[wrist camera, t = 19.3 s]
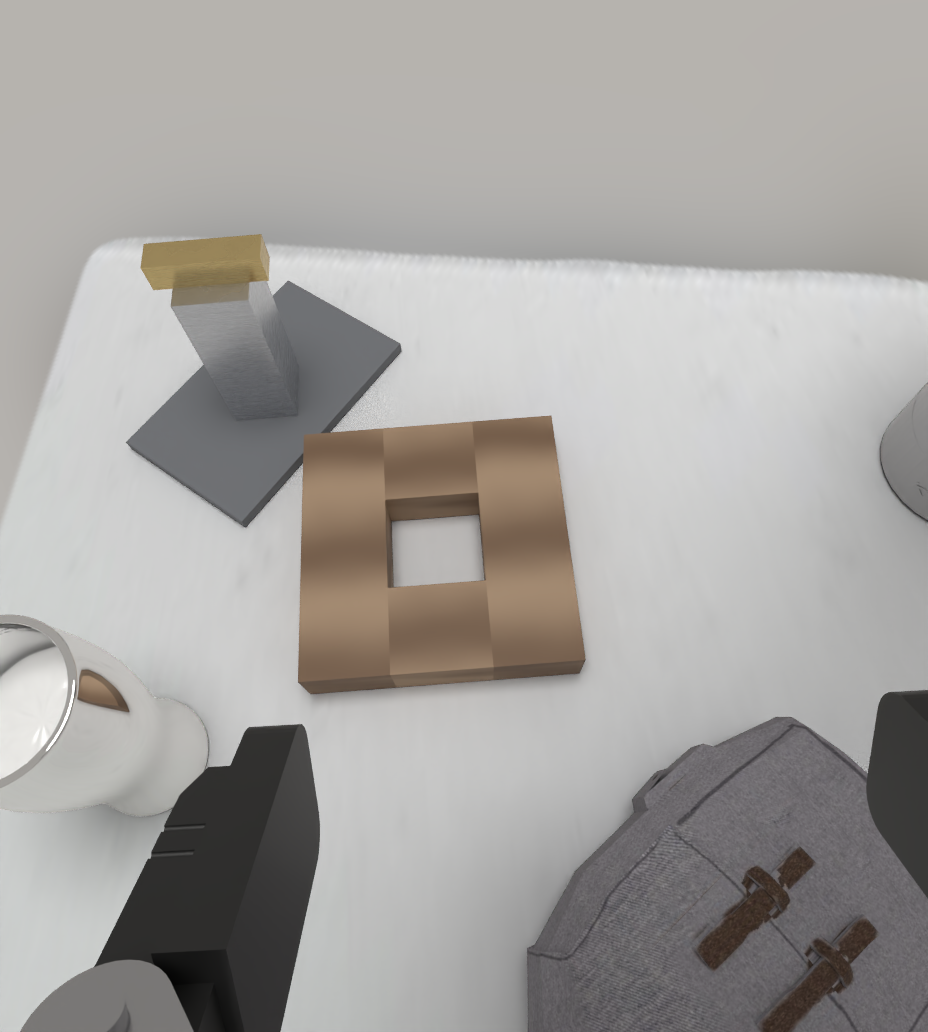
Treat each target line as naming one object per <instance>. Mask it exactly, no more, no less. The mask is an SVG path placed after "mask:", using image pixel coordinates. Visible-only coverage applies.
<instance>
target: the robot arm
mask: <svg viewBox="0 0 928 1032" xmlns="http://www.w3.org/2000/svg"><path fill="white" fill-rule="evenodd" d="M881 463H882V466H883V470H884V473H885V476H886V478H887V480H888V481H889V483H890V485H891V487H892V489H893V490H894V491H895V493H896V494H897V495H898V496H899V498H900V499H901V500H902V501H903V502H904V503H905V504H906V505H907V506H908V507H910V508H911V509H912V510H913V511H914V512H915V513H917V514H918V515H920V516H922V517H923V518H925V519H926V520H928V383H927V384H926V385H925V386H924V387H923V388H922V389H921V390H920V391H919V392H918V393H917V395H916V396H915V397H914V398H913V399H912V400H911V401H910V402H909V403H908V405H907V406H906V407H905V408H904V409H903V410H902V411H901V412H900V413H899V415H898V416H897V417H896V418H895V419H894V420H893V421H892V422H891V423H890V425H889V426H888V428H887V430H886V432H885V433H884V435H883V439H882V444H881ZM866 793H867V801H868V806H869V810H870V813H871V816H872V819H873V821H874V823H875V825H876V827H877V829H878V831H879V832H880V834H881V835H882V837H883V838H884V839H885V841H886V842H887V843H888V845H889V846H890V848H891V849H892V850H893V852H894V853H895V854H896V856H897V857H898V858H899V860H900V861H901V863H902V864H903V865H904V867H905V868H906V869H907V871H908V872H909V874H910V875H911V876H912V878H913V879H914V880H915V882H916V883H917V885H918V886H919V887H920V889H921V890H922V891H923V893H924V894H925V896H926V897H927V898H928V690H921V691H904V692H888V693H886V694H885V695H884V696H883V697H882V698H881V700H880V702H879V706H878V711H877V717H876V724H875V730H874V737H873V743H872V750H871V756H870V763H869V769H868V776H867V783H866ZM319 842H320V821H319V811H318V804H317V798H316V791H315V784H314V778H313V771H312V765H311V758H310V751H309V745H308V738H307V734H306V730H305V728H304V726H303V725H302V724H298V725H281V726H263V727H249V728H247V730H246V731H245V733H244V735H243V737H242V740H241V742H240V744H239V747H238V749H237V751H236V754H235V756H234V758H233V761H232V763H231V766H222V767H208V768H207V769H206V770H205V771H204V772H203V773H202V774H201V775H200V776H199V777H198V778H196V779H195V780H194V781H193V782H192V783H191V784H190V785H189V786H188V787H187V788H186V789H185V790H184V791H183V792H182V793H181V794H180V795H179V797H178V799H177V801H176V803H175V805H174V807H173V809H172V811H171V813H170V815H169V817H168V819H167V821H166V823H165V829H164V832H161V834H160V836H159V838H158V840H157V842H156V844H155V846H154V848H153V850H152V852H151V853H152V855H151V859H148V860H147V862H146V864H145V866H144V868H143V870H142V872H141V874H140V876H139V878H138V880H137V882H136V884H135V886H134V888H133V890H132V892H131V894H130V896H129V898H128V900H127V902H126V904H125V906H124V908H123V910H122V912H121V915H120V917H119V919H118V921H117V923H116V925H115V927H114V929H113V931H112V933H111V935H110V937H109V939H108V941H107V943H106V945H105V947H104V949H103V951H102V953H101V955H100V957H99V959H98V961H97V963H96V965H95V966H94V967H93V968H91V969H89V970H87V971H85V972H83V973H81V974H78V975H77V976H75V977H74V978H72V979H70V980H69V981H67V982H66V983H64V984H63V985H62V986H60V987H59V988H58V989H56V990H55V991H54V992H52V993H51V994H50V995H49V996H48V997H47V998H46V999H45V1000H44V1001H43V1002H42V1003H41V1004H40V1005H39V1006H38V1007H37V1009H36V1010H35V1011H34V1012H33V1013H32V1014H31V1016H30V1017H29V1019H28V1020H27V1022H26V1023H25V1024H24V1026H23V1027H22V1029H21V1031H20V1032H280V1031H281V1026H282V1022H283V1017H284V1013H285V1008H286V1003H287V999H288V994H289V990H290V985H291V980H292V976H293V971H294V967H295V962H296V957H297V953H298V948H299V944H300V939H301V935H302V930H303V925H304V921H305V916H306V912H307V907H308V902H309V898H310V893H311V889H312V884H313V879H314V875H315V870H316V866H317V860H318V854H319Z"/></svg>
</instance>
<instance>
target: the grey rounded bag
mask: <svg viewBox="0 0 928 1032" xmlns="http://www.w3.org/2000/svg"><path fill="white" fill-rule="evenodd" d="M867 776H868V774H867V773H866V772H865V771H864V770H863V769H862V768H861V767H860V766H858V765H857V764H856V763H855V762H854V761H853V760H852V759H851V758H850V757H848V756H847V755H846V754H845V753H843V752H842V751H841V750H839V749H838V748H837V747H835V746H834V745H832V744H831V743H830V742H828V741H827V740H825V739H824V738H822V737H821V736H820V735H818V734H817V733H815V732H814V731H812V730H811V729H810V728H808V727H807V726H805V725H803V724H802V723H800V722H799V721H797V720H795V719H794V718H792V717H775V718H773V719H771V720H769V721H767V722H765V723H763V724H760V725H758V726H756V727H754V728H752V729H750V730H748V731H746V732H744V733H741V734H739V735H737V736H735V737H733V738H731V739H729V740H727V741H725V742H722V743H720V744H718V745H716V746H714V747H712V746H709V745H705V744H701V745H698V746H695V747H692V748H690V749H689V750H688V751H687V752H685V753H684V754H683V755H682V756H681V757H680V758H679V759H677V760H676V761H675V762H674V763H673V764H672V765H671V766H669V767H668V768H667V769H664V770H660V771H657V772H656V773H655V774H654V775H653V776H652V777H651V778H650V779H649V780H648V782H647V783H646V784H645V785H644V786H643V787H642V789H641V790H640V791H639V792H638V793H637V794H636V795H635V797H634V798H633V799H632V801H633V807H634V812H635V813H634V814H633V815H632V816H631V817H630V818H629V819H628V820H627V821H626V822H625V823H624V824H623V825H622V826H621V827H620V828H619V829H618V830H617V831H616V832H615V833H614V834H613V835H612V836H611V837H610V838H609V839H608V840H607V841H606V842H605V843H604V844H603V845H602V846H601V847H600V848H599V849H598V850H597V851H595V852H594V853H593V854H592V855H591V856H590V857H589V858H588V859H587V860H586V861H585V862H584V863H583V864H582V865H581V866H580V867H579V868H578V869H577V870H576V871H575V873H574V875H573V876H572V878H571V880H570V882H569V884H568V886H567V887H566V889H565V891H564V893H563V895H562V897H561V898H560V900H559V902H558V904H557V906H556V907H555V909H554V911H553V913H552V915H551V917H550V918H549V920H548V922H547V924H546V926H545V928H544V929H543V931H542V933H541V935H540V937H539V939H538V940H537V942H536V944H535V945H533V946H531V947H529V948H527V968H528V1032H928V898H927V897H926V896H925V894H924V893H923V891H922V890H921V889H920V887H919V886H918V885H917V883H916V882H915V880H914V879H913V878H912V876H911V875H910V874H909V872H908V871H907V869H906V868H905V867H904V865H903V864H902V863H901V861H900V860H899V858H898V857H897V856H896V854H895V853H894V852H893V850H892V849H891V848H890V846H889V845H888V843H887V842H886V841H885V839H884V838H883V837H882V835H881V834H880V832H879V831H878V829H877V827H876V825H875V823H874V821H873V819H872V816H871V813H870V810H869V806H868V801H867V793H866V783H867Z"/></svg>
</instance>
